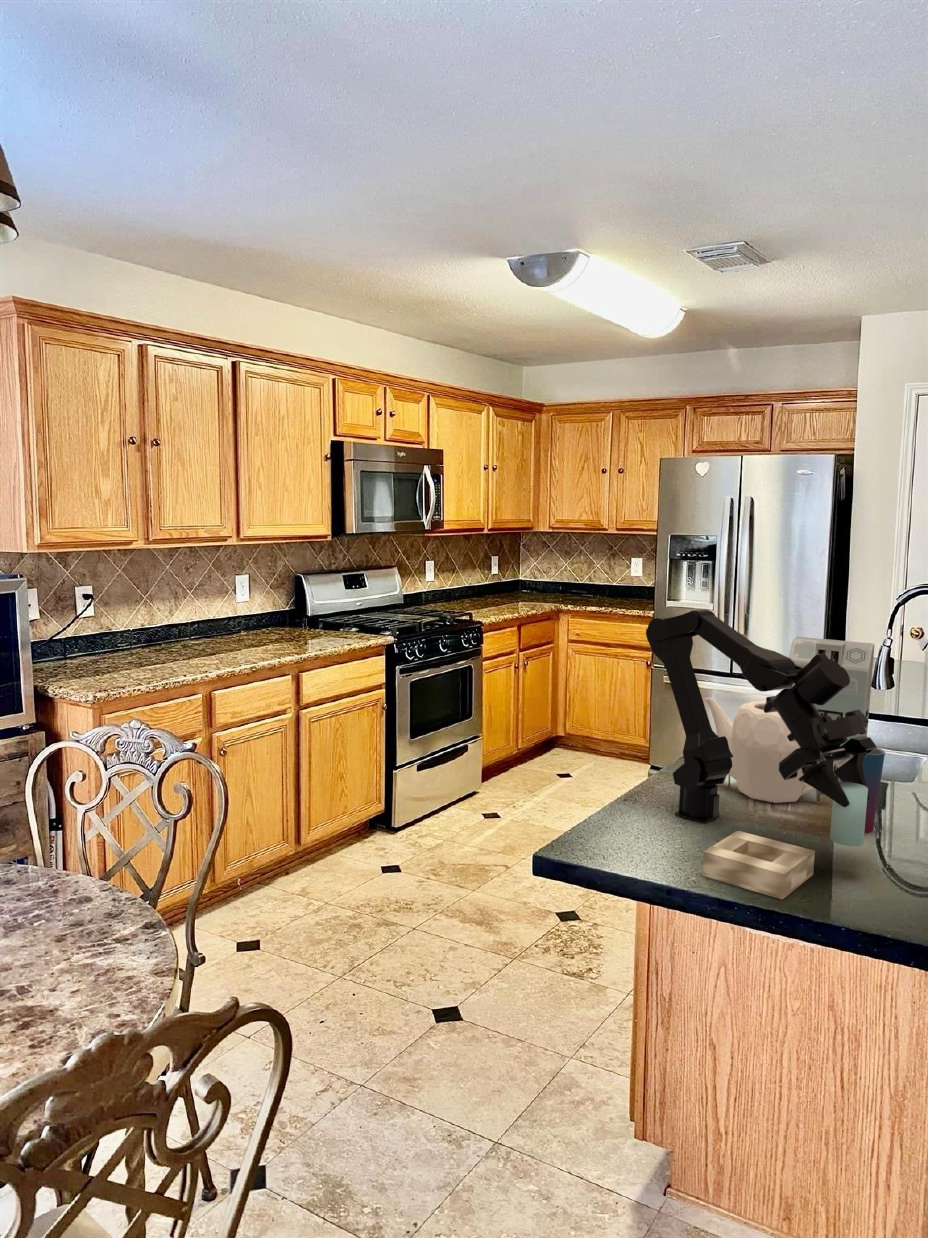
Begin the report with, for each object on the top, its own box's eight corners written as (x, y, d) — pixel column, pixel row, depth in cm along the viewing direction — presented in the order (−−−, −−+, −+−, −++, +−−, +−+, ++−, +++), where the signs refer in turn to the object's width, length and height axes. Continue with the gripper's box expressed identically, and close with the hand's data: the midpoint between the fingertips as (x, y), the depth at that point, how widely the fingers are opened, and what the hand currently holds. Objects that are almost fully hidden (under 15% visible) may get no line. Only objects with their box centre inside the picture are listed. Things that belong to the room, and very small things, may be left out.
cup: (882, 836, 165) (889, 756, 164) (842, 832, 167) (849, 753, 165) (873, 823, 172) (880, 746, 170) (835, 820, 173) (841, 743, 172)
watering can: (709, 774, 202) (715, 690, 199) (838, 796, 188) (845, 707, 186) (688, 792, 188) (693, 702, 186) (824, 818, 175) (832, 721, 172)
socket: (702, 875, 146) (703, 851, 145) (736, 853, 155) (737, 830, 155) (782, 899, 137) (784, 874, 137) (813, 874, 147) (814, 850, 147)
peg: (825, 840, 147) (829, 786, 146) (835, 832, 151) (840, 779, 150) (857, 848, 144) (862, 793, 143) (867, 840, 148) (872, 786, 146)
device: (779, 773, 204) (789, 640, 200) (786, 765, 210) (795, 636, 207) (859, 786, 196) (870, 648, 192) (863, 777, 202) (874, 643, 199)
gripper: (799, 699, 143) (857, 787, 135) (870, 688, 153) (928, 770, 145) (755, 737, 150) (807, 822, 142) (826, 724, 160) (878, 803, 152)
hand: (857, 803), depth 145 cm, fingers closed on peg, 5 cm apart
